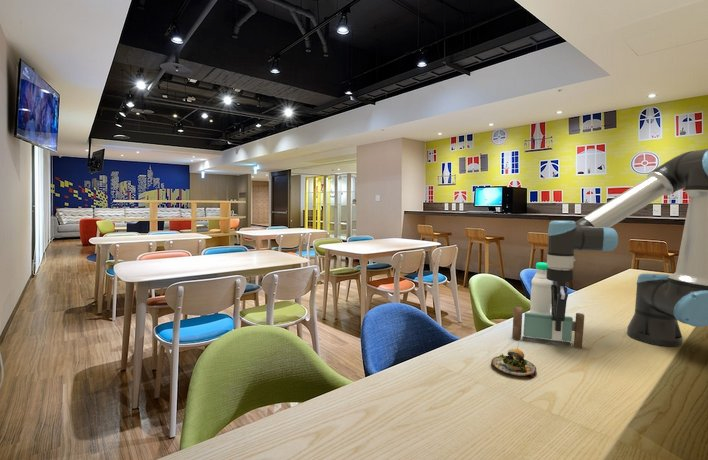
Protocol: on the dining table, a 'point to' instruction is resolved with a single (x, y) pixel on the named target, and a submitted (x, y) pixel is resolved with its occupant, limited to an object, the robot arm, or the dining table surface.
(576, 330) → the gate frame
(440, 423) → the dining table surface
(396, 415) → the dining table surface
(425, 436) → the dining table surface
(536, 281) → the water bottle
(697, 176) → the robot arm
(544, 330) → the gate
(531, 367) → the burger
